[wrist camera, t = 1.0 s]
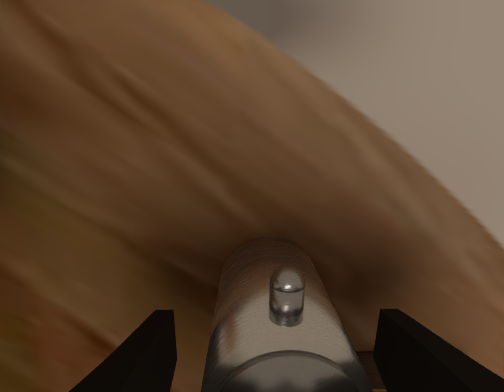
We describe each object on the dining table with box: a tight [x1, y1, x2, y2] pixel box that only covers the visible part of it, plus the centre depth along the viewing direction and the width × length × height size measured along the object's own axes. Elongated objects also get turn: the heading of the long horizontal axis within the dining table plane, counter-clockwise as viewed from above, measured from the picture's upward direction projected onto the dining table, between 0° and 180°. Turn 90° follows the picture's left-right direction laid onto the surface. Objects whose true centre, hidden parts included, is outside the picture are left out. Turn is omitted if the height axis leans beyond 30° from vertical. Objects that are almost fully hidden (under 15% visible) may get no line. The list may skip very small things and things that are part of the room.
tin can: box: [201, 237, 373, 392], centre depth 10 cm, size 6×4×6 cm
